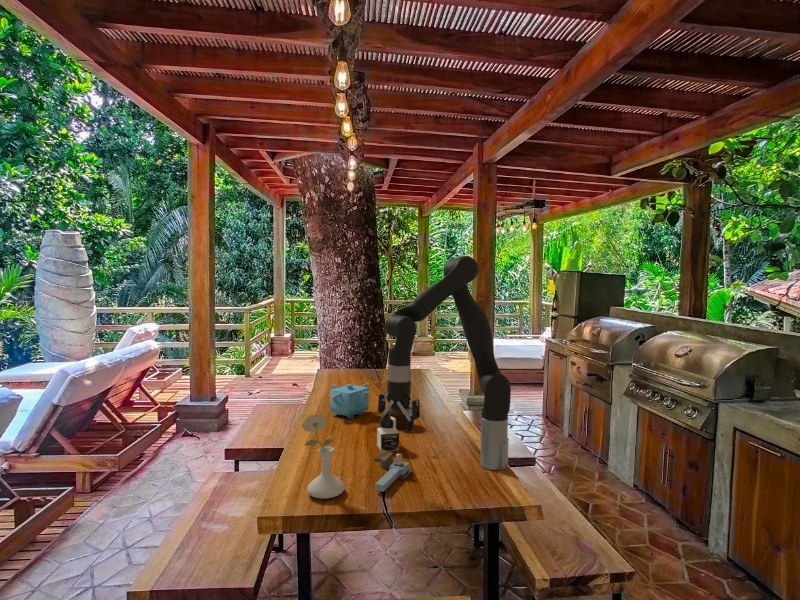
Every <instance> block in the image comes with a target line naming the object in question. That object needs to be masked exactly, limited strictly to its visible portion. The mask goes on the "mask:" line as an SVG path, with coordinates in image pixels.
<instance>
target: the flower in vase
mask: <svg viewBox="0 0 800 600" xmlns="http://www.w3.org/2000/svg"><path fill="white" fill-rule="evenodd" d="M328 424H329V423H328V418H327V416H326V415H325V414H324V415H322V413H315V414H310V415H309V416H306V418H305V419H304V420H303V423H301V427H302V429H303V431H304V432H306V433H315V434H316V440H315V439H310V440H308V441H306V442H305V443H304V446H309V447H313V446H316V445H317V444H319V445H320V447H319V448H318V449H317V452H318V453H319V454H320V458H321V473H320V474H319V475H318V476H317V477H316V478H314V479H313V480H312V481H311V482H310V483H309V484H308V486H307V489H306V492H307V493H308V494H309V495H310V497H313V498H315V499H332V498H335V497H338V496H339V495H341V494H342V493H343V492H344V490H345V484H344V482H343V481H342V480H341V479H340V478H339V477H338V476H336V475H334V474H333V473H332V472H331V469H330V468H331V467H330V464H331V463H330V462H331V458H332V454H333V453H334V451H335V448H334V447H332V446H329V445H330V444H331V443H332V442H333V441H334V439H335V436H332V437H330V438H326V439H325V440H324V442H323V443H321V442H320V440H319V437H318V432H321V430H325V427H326V426H327V425H328Z"/></svg>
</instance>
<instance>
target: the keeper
mask: <svg viewBox="0 0 800 600" xmlns="http://www.w3.org/2000/svg"><path fill="white" fill-rule="evenodd" d="M373 462H375V463H380V468H382V469H388V470H389V466H390V465H391V464H392V463H393V462H394V451H382V452H381V451H380V453H378V454H377V455H376V456H375V457H374V458H373Z"/></svg>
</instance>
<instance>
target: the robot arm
mask: <svg viewBox="0 0 800 600" xmlns="http://www.w3.org/2000/svg"><path fill="white" fill-rule="evenodd" d="M442 270H443V271H442V273H443V278H442V279H440V280H438V281H437V282H436V283H433V284H432V285H431V286H428V287H427V288H426V289H424V290H423V291H422V292H421V293H419V294H418V295H417V296H415V298H413V299H412V300H411V301H410V302H409V303H408V304H406V305H404V306H403V307H401V308H399V309H397V310H396V311H395V312H394V311H393V313H392V314H390V315H389V316H388V317H387V318H386V320H385V322H384V331H385V333H386V334H387V336H390V337H393V338H396V341H395V344H393V345H390V347H388V356H387V357H388V361H387V373H386V375H387V376H386V378H387V379H386V392H387V393H385V392H384V393H381V394H378V405H377V412H378V414H379V413H381V414H382V416H383V424H384V427H389V426H390V414H389V413H390V412H391V411H392V409H393V410H397V411H400V412H401V411H402V412H403V414H404V415H405V416H406V418H407V419H408V421H407V429H406V432H407V433H411V432H413V430H414V429H415V420H418V419H420V417H421V415H420V414H421V413H420V412H421V410H420V409H421V407H420V399H418V398H416V399H412V398H411V393H412V392H411V391H412V370H411V369H412V367H411V362H412V361H411V358H412V357H411V356H412V354H411V353H412V348H413V345H414V342H415V338H416V335H417V334H416V333H417V332H416V331H417V328H416V323H417V322H422V321H424V320H426V318H427V317H428V316H429V315H430V314H432V313H433V312H434V311H435V310H436V309H437V308H438V307H440V305H441V304H442V303H443V302H445V301H446V299H448V298H450V297H452V298H453V301H454V304H455V307H456V311H457V314H458V317H459V319H460V322H461V326H462V330H463V334H464V336H465V339H466V342H467V345H468V347H469V350H470V353H471V355H472V358H473V361H474V364H475V368H476V373H477V378H478V382H479V383H478V384H479V387H480V389H481V391H482V392H483V393H484V395H483V396H484V398H483V407H482V408H481V410H480V412H481V413H480V415H481V416H480V418H481V419H480V464H479V465H480V466H481V467H482V468H484V469H487V470H492V471H502V470H503V471H506V470H507V467H508V465H509V437H508V427H509V426H508V425H509V420H508V418H509V413H510V409H511V396H512V395H511V394H512V393H511V392H512V391H511V390H512V389H511V382H510V380H509V378H508V377H506V376H505V375H504V374H502V372H501V370H500V368H499V366H498V363H497V360H496V358H495V354H494V353H495V352H494V339H493V332H492V328H491V325H490V321H489V318H488V316H487V315H486V312H485V311H484V309H482V307H481V306H480V305H479V304H478V303H477V302H476V300H475V299H474V297H473V296H472V293H471V292H470V289H469V286H468V284H469V283H471V282H472V281H474V280H475V279H476V277H477V275H478V273H479V266H478V262H477V261H476V260H475V258H474V257H472V256H469V255H465V256H464V255H463V256H458V257H455V258H452V259H448V260H447V261H446V262H445V263H444V265H443V269H442ZM386 402H387V403H388V404H387V403H386ZM386 404H387V405H386ZM411 408H412V409H411ZM406 409H407V410H406Z"/></svg>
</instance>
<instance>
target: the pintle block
mask: <svg viewBox="0 0 800 600" xmlns="http://www.w3.org/2000/svg"><path fill="white" fill-rule="evenodd" d="M395 461H396V466H397V467H402V462H403V454H402V453H400V452H398V453H397V452H396V454H395ZM412 473H413V469H411V468H409V470H408V471H407V472H406V473H405V474H404V475H399V476H398V477H397V478H396V479H397V480H403V481H405V480H406V479H407V478H408V477H409V476H410V475H412ZM396 479H395V480H396Z"/></svg>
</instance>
